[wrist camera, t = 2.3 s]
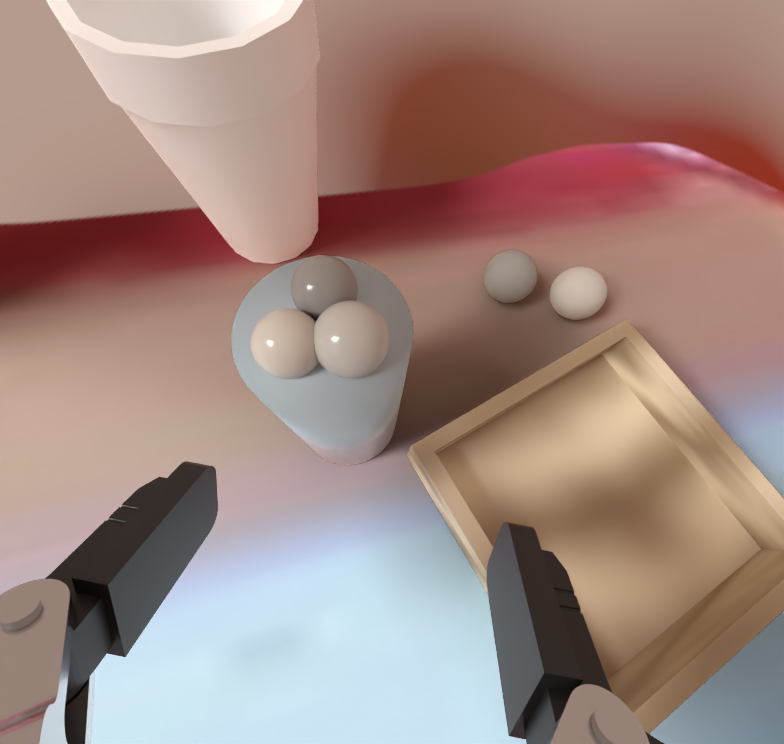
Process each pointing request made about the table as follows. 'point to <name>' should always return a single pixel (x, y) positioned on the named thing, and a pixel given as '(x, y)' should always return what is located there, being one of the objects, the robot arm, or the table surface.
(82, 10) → the foam cup
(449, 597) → the table surface
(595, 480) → the birch tray
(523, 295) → the pebble
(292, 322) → the pebble jar
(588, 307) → the pebble
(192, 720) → the table surface
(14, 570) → the table surface
